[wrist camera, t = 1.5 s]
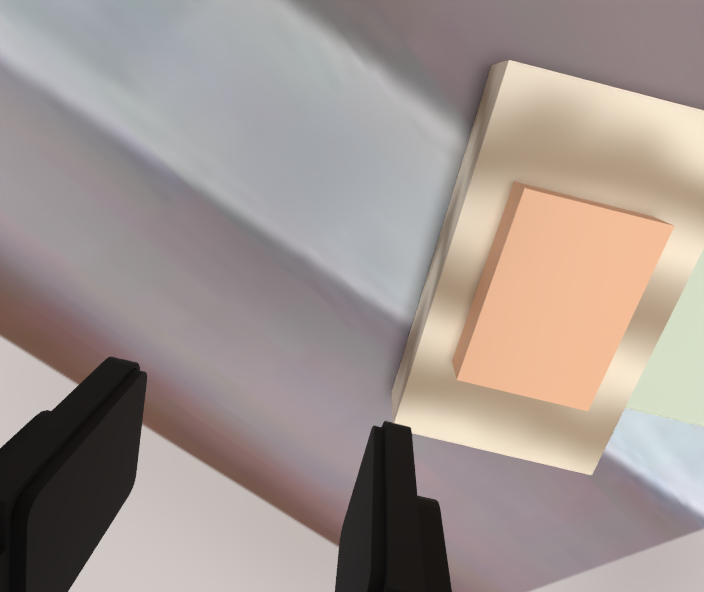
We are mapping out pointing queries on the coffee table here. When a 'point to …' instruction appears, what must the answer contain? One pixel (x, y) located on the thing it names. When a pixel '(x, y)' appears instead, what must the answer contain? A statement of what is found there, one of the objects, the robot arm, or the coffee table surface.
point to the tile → (557, 295)
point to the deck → (481, 227)
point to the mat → (677, 361)
